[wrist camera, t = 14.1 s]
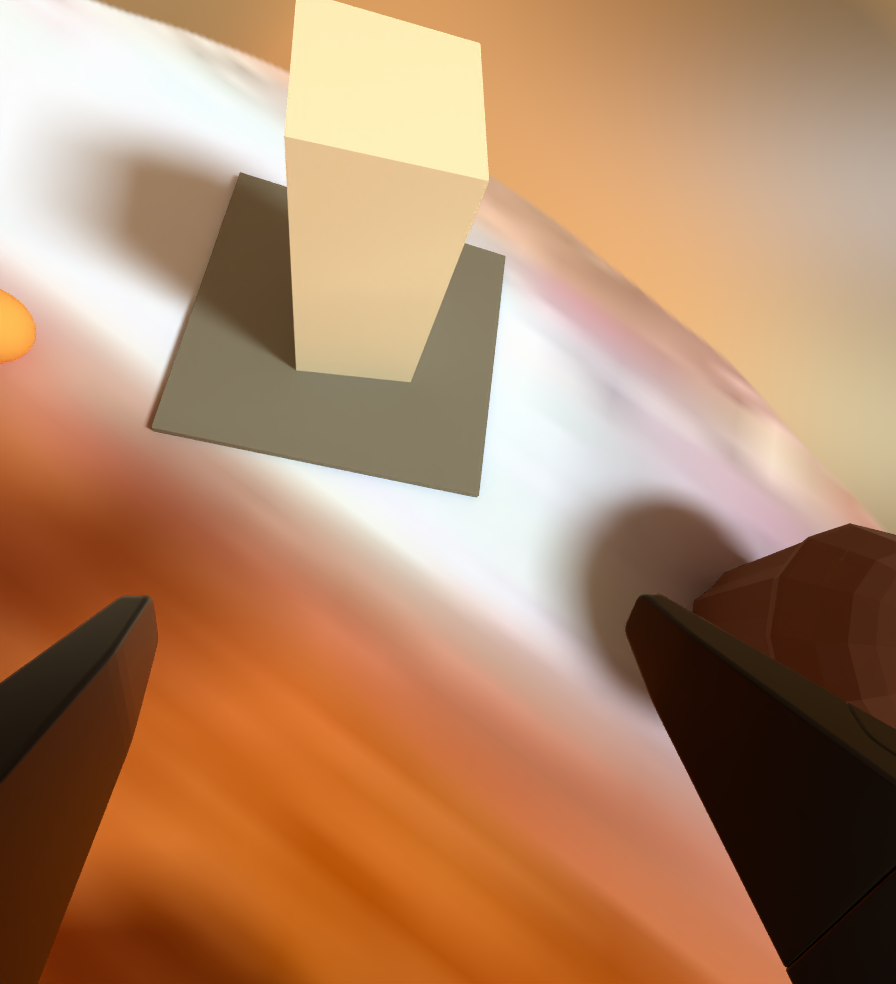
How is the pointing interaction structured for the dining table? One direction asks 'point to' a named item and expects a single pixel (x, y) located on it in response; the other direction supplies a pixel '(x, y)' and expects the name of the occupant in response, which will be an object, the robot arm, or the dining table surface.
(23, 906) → the robot arm
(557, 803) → the dining table surface
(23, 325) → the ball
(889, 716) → the muffin
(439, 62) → the tall cream pillar
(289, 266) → the mat
